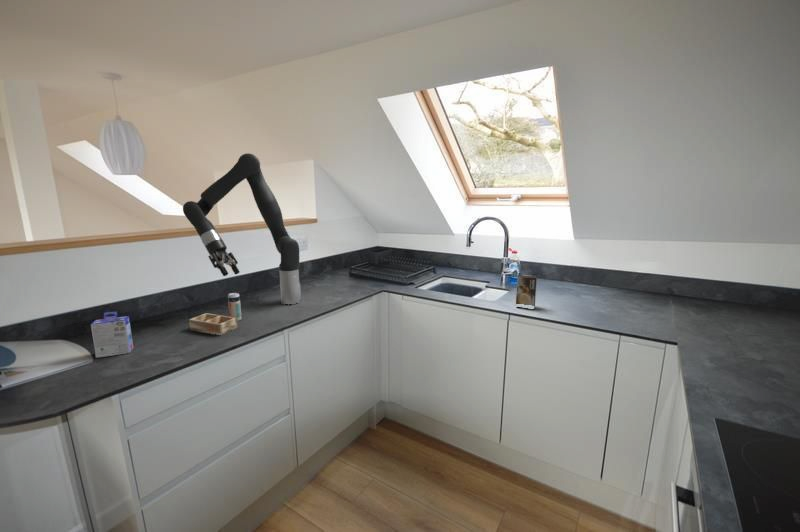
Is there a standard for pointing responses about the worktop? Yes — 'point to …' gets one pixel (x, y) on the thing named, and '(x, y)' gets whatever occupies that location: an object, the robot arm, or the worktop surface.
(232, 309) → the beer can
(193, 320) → the can rack
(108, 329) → the ink cartridge box
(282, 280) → the robot arm
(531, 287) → the coffee box
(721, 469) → the worktop surface
